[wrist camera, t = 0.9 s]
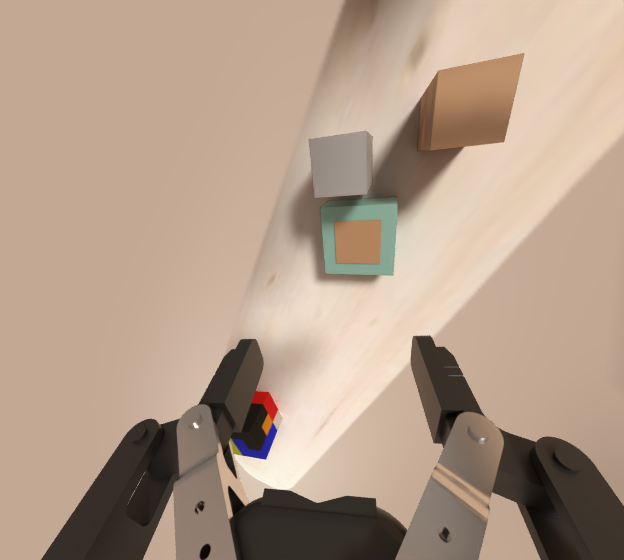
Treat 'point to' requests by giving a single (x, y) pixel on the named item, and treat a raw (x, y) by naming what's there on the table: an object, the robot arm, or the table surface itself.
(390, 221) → the teal base block
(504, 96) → the walnut block
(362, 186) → the slate-grey block
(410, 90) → the table surface
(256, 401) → the puzzle toy
